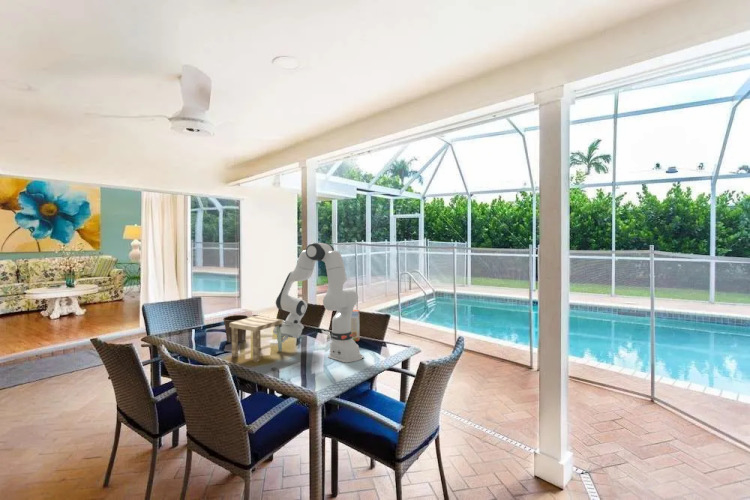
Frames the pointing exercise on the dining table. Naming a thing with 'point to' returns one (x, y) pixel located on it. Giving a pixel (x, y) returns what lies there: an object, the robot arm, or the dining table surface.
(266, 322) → the stool
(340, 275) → the robot arm
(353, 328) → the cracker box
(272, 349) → the dining table surface
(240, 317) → the plant pot
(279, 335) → the folding leg
